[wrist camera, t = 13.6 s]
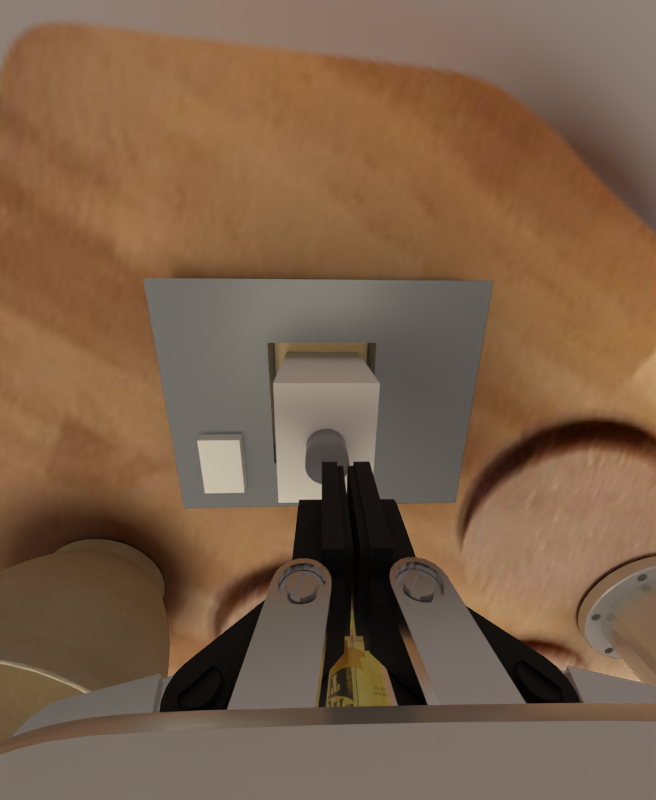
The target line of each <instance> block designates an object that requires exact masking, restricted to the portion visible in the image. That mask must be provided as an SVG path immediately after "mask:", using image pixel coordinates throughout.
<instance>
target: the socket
mask: <svg viewBox="0 0 656 800" xmlns="http://www.w3.org/2000/svg"><path fill="white" fill-rule="evenodd" d="M143 280H144V286H145V292H146V297H147V303H148V308H149V314H150V320H151V325H152V331H153V336H154V342H155V348H156V353H157V359H158V364H159V370H160V376H161V381H162V387H163V392H164V398H165V404H166V409H167V415H168V420H169V426H170V432H171V437H172V443H173V448H174V454H175V460H176V465H177V471H178V476H179V482H180V488H181V493H182V499H183V504H184V508H227V507H273V506H298V505H299V503H278V482H277V460H276V438H275V416H274V393H273V382H274V380H275V377H276V375H277V373H278V371H279V368H280V366H281V364H282V362H283V359H284V357H285V355H286V352H358V353H359V354H360V356H361V357H362V358H363V360H364V361H365V363H366V364H367V366H368V367H369V368H370V370H371V371H372V373H373V374H374V376H375V377H376V378H377V380H378V381H379V383H380V391H379V404H378V418H377V431H376V444H375V458H374V471H373V476H374V479H375V483H376V486H377V490H378V493H379V497H380V499H394V500H395V501H396V503H397V504H409V503H455V502H456V496H457V490H458V484H459V478H460V473H461V467H462V461H463V455H464V449H465V443H466V438H467V432H468V426H469V420H470V414H471V408H472V403H473V397H474V391H475V385H476V379H477V373H478V368H479V362H480V356H481V350H482V344H483V338H484V333H485V327H486V321H487V315H488V309H489V303H490V298H491V292H492V286H493V281H447V280H325V279H202V278H143Z"/></svg>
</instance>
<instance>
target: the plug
mask: <svg viewBox="0 0 656 800" xmlns="http://www.w3.org/2000/svg"><path fill="white" fill-rule="evenodd" d="M379 391H380V383H379V381H378V380H377V378H376V377H375V376H374V374H373V373H372V371H371V370H370V368H369V367H368V366H367V364H366V363H365V361H364V360H363V358H362V357H361V356H360V354H359V353H358V352H286V355H285V357H284V359H283V362H282V364H281V366H280V368H279V371H278V373H277V375H276V377H275V380H274V382H273V393H274V416H275V438H276V460H277V482H278V503H299V500H322V462H337V466H343V468H344V476H345V484H346V492H347V468H348V466H353V462H362V461H369V462H370V465H371V469H372V472H373V471H374V458H375V444H376V431H377V418H378V404H379Z"/></svg>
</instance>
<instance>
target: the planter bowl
mask: <svg viewBox="0 0 656 800" xmlns="http://www.w3.org/2000/svg"><path fill="white" fill-rule="evenodd" d="M164 592H165V584H164V580H163V577H162V574H161V572H160V570H159V569H158V567H157V566H156V564H155V563H154V562H153V561H152V560H151V559H150V558H149V557H148V556H146V555H145V554H144V553H142V552H141V551H139V550H137V549H135V548H133V547H131V546H129V545H127V544H124V543H121V542H117V541H112V540H105V539H86V540H80V541H76V542H73V543H70V544H68V545H65V546H63V547H61V548H60V549H58V550H57V551H56V552H54V553H52V554H48V555H44V556H41V557H37V558H34V559H31V560H28V561H25V562H22V563H19V564H16V565H14V566H11V567H9V568H6V569H4V570H2V571H0V741H3V740H6V739H8V738H11V737H12V736H13V734H14V733H15V732H16V731H17V730H18V729H19V728H20V727H21V726H22V725H23V724H24V723H25V722H26V721H27V720H28V719H29V718H30V717H32V716H33V715H34V714H36V713H37V712H39V711H40V710H41V709H43V708H44V707H46V706H48V705H50V704H53V703H55V702H57V701H60V700H62V699H66V698H70V697H74V696H77V695H81V694H85V693H89V692H92V691H96V690H100V689H103V688H107V687H111V686H115V685H118V684H122V683H126V682H130V681H133V680H137V679H141V678H145V677H148V676H152V675H156V674H160V673H161V677H162V678H166V677H167V675H168V667H169V647H170V643H169V627H168V620H167V614H166V610H165V606H164V602H163V597H164Z"/></svg>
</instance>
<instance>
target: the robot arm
mask: <svg viewBox="0 0 656 800" xmlns="http://www.w3.org/2000/svg"><path fill="white" fill-rule="evenodd" d="M351 599H352V604H353V614H354V624H355V633H356V636H363V641H364V649H365V651H369V653H370V654H371V655H372V656H374V657H375V658H376V659H377V660H378V661H379V662H380V663H381V664H382V665H381V668H382V674H383V679H384V682H385V686H386V689H387V692H388V696H389V699H390V703H391V706H360V707H327V705H328V695H329V686H330V673H331V668H332V667H333V666H334V665H335V663H336V662H337V661H338V660H339V659H340V657H341V656H342V655H343V654H344V645H345V636H350V624H351ZM578 627H579V630H580V632H581V634H582V636H583V637H584V638H585V640H586V641H587V642H588V644H589V645H590V646H591V647H592V648H593V649H594V650H595V651H597V652H599V653H600V654H602V655H605V656H609V657H612V658H618V659H623V660H624V662H625V663H626V664H627V665H628V666H629V668H630V669H631V670H632V671H633V672H634V674H635V675H636V676H637V677H638V678H639V680H640V681H641V682H642V683H641V682H636V681H632V680H627V679H623V678H618V677H614V676H609V675H605V674H601V673H596V672H592V671H587V670H583V669H578V668H574V667H569V666H567V669H566V671H562V670H559V668H558V667H557V666H555V665H554V664H553V663H551V662H550V661H549V660H548V659H546V658H545V657H544V656H542V655H541V654H539V653H538V652H536V651H534V650H533V649H531V648H530V647H528V646H527V645H525V644H524V643H522V642H521V641H519V640H518V639H516V638H515V637H513V636H511V635H510V634H508V633H507V632H505V631H504V630H502V629H501V628H499V627H498V626H496V625H495V624H493V623H491V622H490V621H488V620H487V619H485V618H484V617H482V616H481V615H479V614H478V613H476V612H475V611H473V610H472V609H470V608H468V607H467V606H465V604H464V603H463V601H462V599H461V598H460V596H459V595H458V593H457V591H456V590H455V588H454V586H453V585H452V583H451V582H450V580H449V578H448V577H447V576H446V574H445V573H444V572H443V571H442V569H440V568H439V567H438V566H436V565H435V564H434V563H432V562H430V561H428V560H425V559H422V558H417V557H416V556H415V554H414V551H413V548H412V545H411V542H410V540H409V537H408V534H407V531H406V528H405V526H404V523H403V520H402V517H401V515H400V512H399V509H398V506H397V503H396V501H395V500H394V499H380V497H379V493H378V490H377V486H376V483H375V479H374V476H373V472H372V469H371V465H370V462H369V461H362V462H353V466H348V468H347V492H346V484H345V476H344V468H343V466H337V462H322V500H299V505H298V514H297V523H296V532H295V541H294V550H293V559H292V560H291V561H289V562H287V563H285V564H284V565H282V566H281V567H280V568H279V569H278V570H277V571H276V573H275V575H274V577H273V579H272V581H271V584H270V587H269V590H268V593H267V596H266V599H265V600H264V601H263V602H262V603H260V604H259V605H258V606H257V607H255V608H254V609H253V610H251V611H250V612H249V613H248V614H246V615H245V616H244V617H243V618H241V619H240V620H239V621H238V622H236V623H235V624H234V625H233V626H231V627H230V628H229V629H228V630H226V631H225V632H224V633H223V634H221V635H220V636H219V637H218V638H216V639H215V640H214V641H213V642H211V643H210V644H209V645H208V646H206V647H205V648H204V649H203V650H201V651H200V652H199V653H198V654H196V655H195V656H194V657H193V658H191V659H190V660H189V661H188V662H186V663H185V664H184V665H183V666H182V667H181V668H180V669H179V670H178V671H177V672H176V673H175V674H174V675H173V676H170V677H166V678H162V677H161V673H160V674H156V675H152V676H148V677H145V678H141V679H137V680H133V681H130V682H126V683H122V684H118V685H115V686H111V687H107V688H103V689H100V690H96V691H92V692H89V693H85V694H81V695H77V696H74V697H70V698H66V699H62V700H60V701H57V702H55V703H53V704H50V705H48V706H46V707H44V708H43V709H41V710H40V711H39V712H37V713H36V714H34V715H33V716H32V717H30V718H29V719H28V720H27V721H26V722H25V723H24V724H23V725H22V726H21V727H20V728H19V729H18V730H17V731H16V732H15V733H14V734H13V736H12V737H11V738H8V739H6V740H3V741H0V800H656V556H654V557H648V558H644V559H641V560H638V561H634V562H632V563H630V564H627V565H625V566H623V567H621V568H619V569H617V570H616V571H614V572H612V573H611V574H609V575H608V576H606V577H605V578H604V579H602V580H601V581H600V582H599V583H598V584H597V585H596V586H595V587H594V588H593V589H592V590H591V591H590V592H589V593H588V595H587V596H586V598H585V599H584V601H583V603H582V605H581V607H580V610H579V615H578Z"/></svg>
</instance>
